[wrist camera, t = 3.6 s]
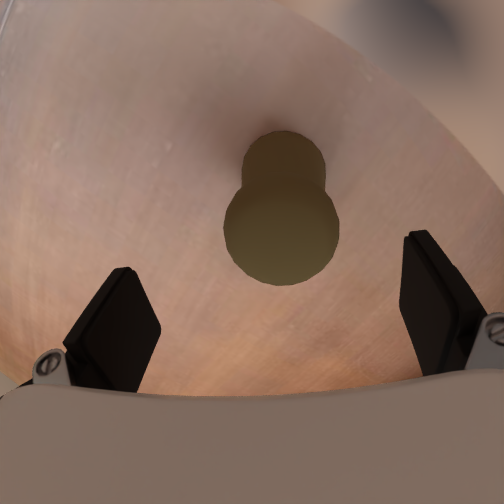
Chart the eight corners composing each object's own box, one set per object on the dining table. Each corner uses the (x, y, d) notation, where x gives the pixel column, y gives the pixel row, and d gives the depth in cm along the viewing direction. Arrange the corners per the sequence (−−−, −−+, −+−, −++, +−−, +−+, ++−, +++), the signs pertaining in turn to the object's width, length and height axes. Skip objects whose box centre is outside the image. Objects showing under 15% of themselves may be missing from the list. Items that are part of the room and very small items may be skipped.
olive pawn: (340, 186, 22) (376, 271, 13) (270, 224, 24) (258, 324, 15) (297, 115, 20) (309, 146, 11) (225, 159, 22) (177, 225, 13)
